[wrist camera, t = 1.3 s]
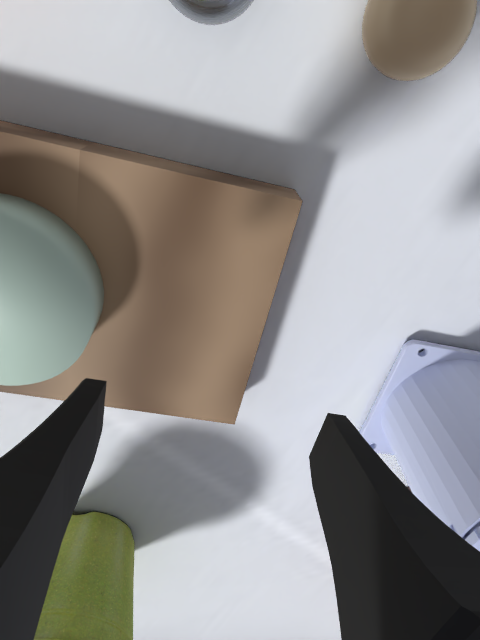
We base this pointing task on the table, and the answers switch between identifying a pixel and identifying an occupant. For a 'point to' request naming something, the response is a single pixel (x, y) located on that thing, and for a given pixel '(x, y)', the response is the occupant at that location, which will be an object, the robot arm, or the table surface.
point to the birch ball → (415, 35)
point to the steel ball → (211, 10)
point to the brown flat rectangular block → (160, 269)
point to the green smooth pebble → (43, 293)
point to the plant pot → (91, 582)
